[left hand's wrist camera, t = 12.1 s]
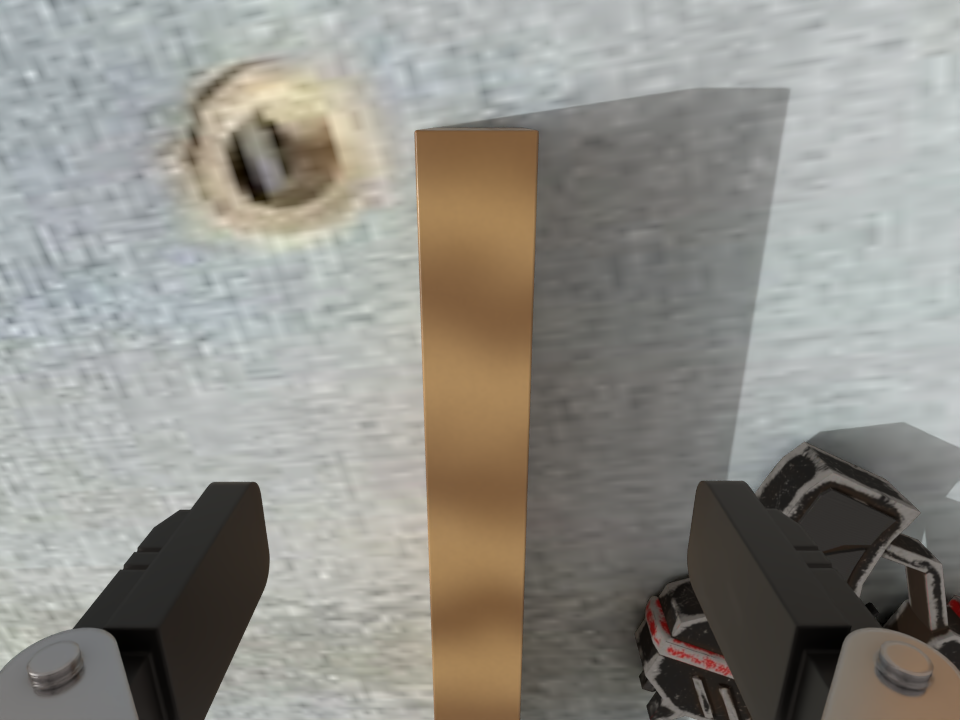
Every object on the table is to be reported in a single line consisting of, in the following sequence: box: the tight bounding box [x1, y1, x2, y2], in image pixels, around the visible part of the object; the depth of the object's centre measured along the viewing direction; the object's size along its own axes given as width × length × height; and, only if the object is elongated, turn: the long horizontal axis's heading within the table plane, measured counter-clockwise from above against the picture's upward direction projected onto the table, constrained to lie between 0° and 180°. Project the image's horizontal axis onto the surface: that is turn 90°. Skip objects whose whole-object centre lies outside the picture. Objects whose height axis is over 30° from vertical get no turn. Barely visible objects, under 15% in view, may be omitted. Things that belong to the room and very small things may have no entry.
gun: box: [635, 442, 960, 720], centre depth 39 cm, size 4×31×19 cm
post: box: [415, 128, 539, 720], centre depth 36 cm, size 56×4×9 cm, turn 0°
